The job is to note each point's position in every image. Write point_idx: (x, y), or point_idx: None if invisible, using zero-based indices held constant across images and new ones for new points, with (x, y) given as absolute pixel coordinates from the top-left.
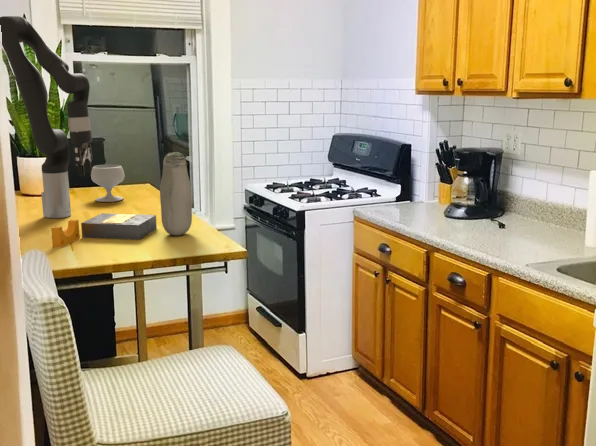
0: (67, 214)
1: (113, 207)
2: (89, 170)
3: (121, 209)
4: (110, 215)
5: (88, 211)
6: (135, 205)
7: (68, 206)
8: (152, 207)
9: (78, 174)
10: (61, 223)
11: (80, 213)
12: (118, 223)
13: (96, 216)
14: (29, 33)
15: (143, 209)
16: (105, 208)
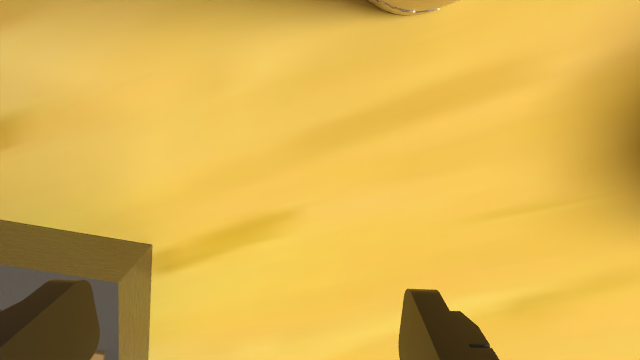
0: (379, 4)
1: (608, 193)
2: (407, 352)
3: (540, 240)
4: None
5: (529, 86)
6: (626, 281)
7: (403, 3)
8: (552, 351)
9: (47, 287)
10: (212, 22)
11: (479, 54)
12: None
13: (37, 275)
14: None
15: (515, 326)
16: (592, 158)
